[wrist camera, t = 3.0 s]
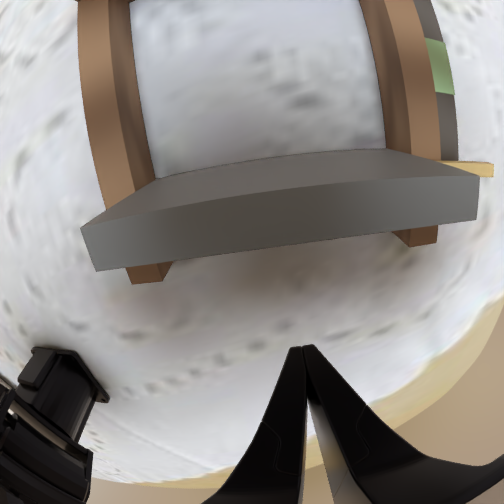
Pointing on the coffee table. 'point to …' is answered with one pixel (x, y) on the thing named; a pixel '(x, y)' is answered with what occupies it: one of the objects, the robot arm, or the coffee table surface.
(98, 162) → the brown wooden frame
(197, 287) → the coffee table surface
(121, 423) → the coffee table surface
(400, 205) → the pad
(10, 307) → the coffee table surface
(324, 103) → the coffee table surface
